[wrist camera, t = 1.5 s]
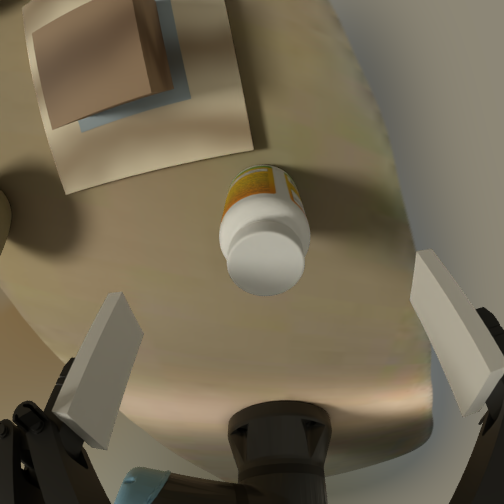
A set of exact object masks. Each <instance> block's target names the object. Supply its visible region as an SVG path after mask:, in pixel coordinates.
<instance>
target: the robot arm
mask: <svg viewBox="0 0 504 504" xmlns="http://www.w3.org/2000/svg"><path fill="white" fill-rule="evenodd" d="M410 302H411V304H412V305H413V307H414V309H415V311H416V313H417V315H418V317H419V319H420V321H421V323H422V325H423V327H424V329H425V331H426V333H427V336H428V338H429V340H430V342H431V344H432V346H433V348H434V350H435V353H436V355H437V357H438V359H439V361H440V364H441V366H442V368H443V370H444V373H445V375H446V377H447V380H448V382H449V384H450V387H451V389H452V392H453V394H454V397H455V399H456V402H457V404H458V407H459V409H460V412H461V415H462V417H466V416H468V415H471V414H473V413H476V412H479V411H480V410H481V408H482V407H483V405H484V404H485V403H486V405H487V407H488V411H487V412H486V413H485V415H484V416H483V417H482V419H481V420H480V422H479V425H481V424H482V422H483V424H482V427H481V430H480V433H479V436H478V439H477V441H476V444H475V447H474V449H473V452H472V454H471V457H470V459H469V462H468V464H467V467H466V469H465V471H464V473H463V476H462V478H461V480H460V482H459V484H458V486H457V488H456V491H455V493H454V495H453V497H452V499H451V500H450V502H449V504H504V330H503V329H502V327H501V326H500V324H499V322H498V321H497V319H496V318H495V316H494V315H493V314H492V313H491V312H490V311H488V310H487V309H486V308H484V307H482V308H478V309H475V308H474V307H473V306H472V304H471V302H470V301H469V300H468V298H467V297H466V295H465V294H464V293H463V291H462V289H461V288H460V287H459V285H458V284H457V282H456V281H455V279H454V278H453V277H452V275H451V274H450V273H449V271H448V270H447V269H446V267H445V266H444V264H443V263H442V262H441V261H440V259H439V258H438V257H437V255H436V254H435V253H434V251H433V250H432V249H427V250H421V251H416V260H415V268H414V275H413V282H412V289H411V295H410ZM143 335H144V333H143V331H142V329H141V328H140V326H139V324H138V322H137V320H136V318H135V316H134V314H133V312H132V310H131V308H130V306H129V304H128V302H127V301H126V299H125V296H124V294H123V292H115V293H109V294H108V295H107V297H106V299H105V301H104V303H103V305H102V306H101V308H100V310H99V312H98V314H97V316H96V318H95V320H94V322H93V324H92V325H91V327H90V329H89V331H88V333H87V335H86V337H85V339H84V341H83V343H82V345H81V347H80V349H79V351H78V354H77V356H76V358H71V359H70V360H69V361H68V362H67V364H66V365H65V366H64V368H63V370H62V372H61V374H60V378H58V380H57V382H56V385H55V387H54V389H53V391H52V393H51V396H50V398H49V400H48V403H47V405H46V407H45V409H44V412H43V411H42V410H41V409H40V408H39V407H38V406H37V405H36V404H35V403H33V402H32V401H25V402H22V403H21V404H20V405H18V407H17V408H16V409H15V411H14V414H13V422H14V423H15V424H16V425H17V426H16V425H14V423H12V422H11V421H10V420H8V419H4V420H2V421H0V504H111V503H110V501H109V499H108V497H107V495H106V493H105V491H104V489H103V487H102V485H101V483H100V481H99V479H98V477H97V475H96V472H95V470H94V468H93V466H92V464H91V461H90V459H89V457H88V454H87V452H86V450H85V449H84V448H83V447H82V445H83V442H84V441H85V442H86V443H87V444H88V445H90V446H91V447H92V448H98V449H103V450H107V448H108V445H109V441H110V437H111V434H112V431H113V427H114V424H115V420H116V417H117V414H118V411H119V407H120V404H121V401H122V398H123V394H124V391H125V388H126V385H127V382H128V379H129V376H130V373H131V370H132V367H133V364H134V361H135V358H136V355H137V352H138V349H139V346H140V344H141V341H142V338H143ZM331 432H332V429H331V422H330V417H329V415H328V413H327V412H326V411H325V410H323V409H322V408H320V407H318V406H315V405H312V404H308V403H302V402H292V401H280V402H269V403H263V404H258V405H254V406H251V407H248V408H245V409H243V410H241V411H239V412H237V413H236V414H235V415H233V416H232V418H231V419H230V421H229V425H228V440H229V443H230V446H231V450H232V453H233V456H234V459H235V462H236V465H237V468H238V484H236V483H228V482H220V481H214V480H208V479H201V478H196V477H190V476H185V475H180V474H175V473H171V472H170V471H160V470H155V469H150V468H146V467H136V468H133V469H132V470H130V471H129V472H128V473H127V475H126V477H125V478H124V480H123V483H122V485H121V487H120V490H119V492H118V494H117V497H116V500H115V502H114V504H328V503H327V493H326V484H325V475H324V463H325V459H326V455H327V451H328V446H329V442H330V438H331ZM21 462H22V463H23V464H24V465H25V468H24V470H23V469H22V468H21Z"/></svg>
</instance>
